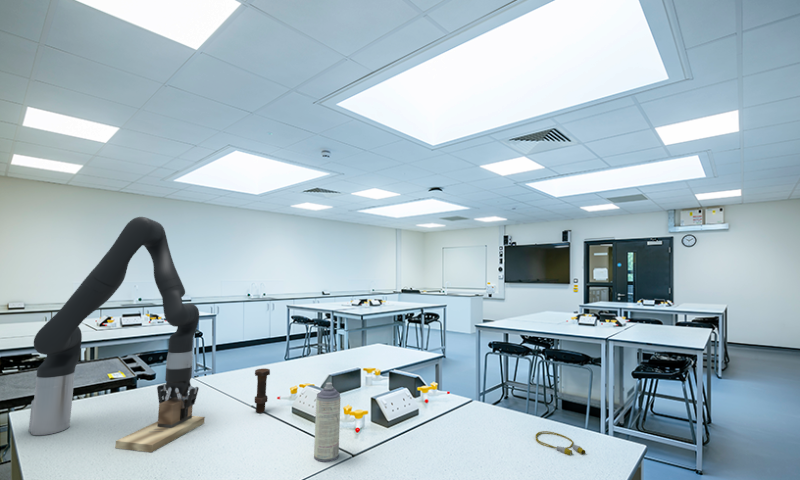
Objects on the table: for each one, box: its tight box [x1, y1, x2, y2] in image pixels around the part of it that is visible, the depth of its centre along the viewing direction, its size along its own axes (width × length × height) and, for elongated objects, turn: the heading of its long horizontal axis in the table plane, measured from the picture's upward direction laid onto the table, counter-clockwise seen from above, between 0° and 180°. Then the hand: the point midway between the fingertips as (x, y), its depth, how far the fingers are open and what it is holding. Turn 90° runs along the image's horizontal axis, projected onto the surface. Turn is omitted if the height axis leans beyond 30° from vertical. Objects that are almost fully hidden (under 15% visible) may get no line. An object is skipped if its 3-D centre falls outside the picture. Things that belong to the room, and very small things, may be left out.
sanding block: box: [157, 396, 194, 428], centre depth 126 cm, size 5×9×7 cm, turn 169°
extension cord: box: [535, 430, 586, 456], centre depth 120 cm, size 12×16×2 cm
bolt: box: [254, 367, 271, 414], centre depth 142 cm, size 6×5×15 cm
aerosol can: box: [313, 382, 341, 463], centre depth 110 cm, size 7×7×20 cm
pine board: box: [115, 415, 206, 453], centre depth 121 cm, size 12×22×2 cm, turn 170°
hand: (175, 418), depth 126 cm, fingers closed on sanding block, 5 cm apart
